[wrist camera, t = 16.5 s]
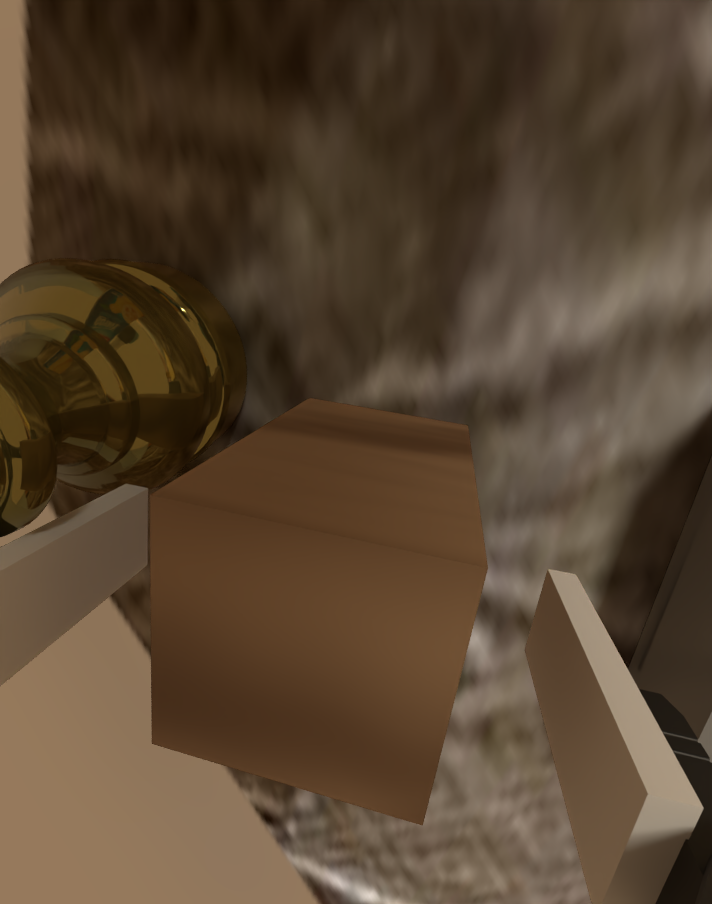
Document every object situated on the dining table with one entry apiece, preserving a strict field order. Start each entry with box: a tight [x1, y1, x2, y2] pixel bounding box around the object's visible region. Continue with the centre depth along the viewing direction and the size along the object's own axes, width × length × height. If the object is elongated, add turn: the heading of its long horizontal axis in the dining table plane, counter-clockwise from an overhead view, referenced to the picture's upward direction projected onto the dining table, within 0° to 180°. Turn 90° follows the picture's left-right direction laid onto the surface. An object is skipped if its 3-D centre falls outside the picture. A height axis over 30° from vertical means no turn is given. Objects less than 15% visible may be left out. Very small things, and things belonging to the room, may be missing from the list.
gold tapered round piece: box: [0, 258, 247, 537], centre depth 14 cm, size 7×8×10 cm
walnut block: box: [150, 398, 488, 825], centre depth 14 cm, size 6×6×10 cm
